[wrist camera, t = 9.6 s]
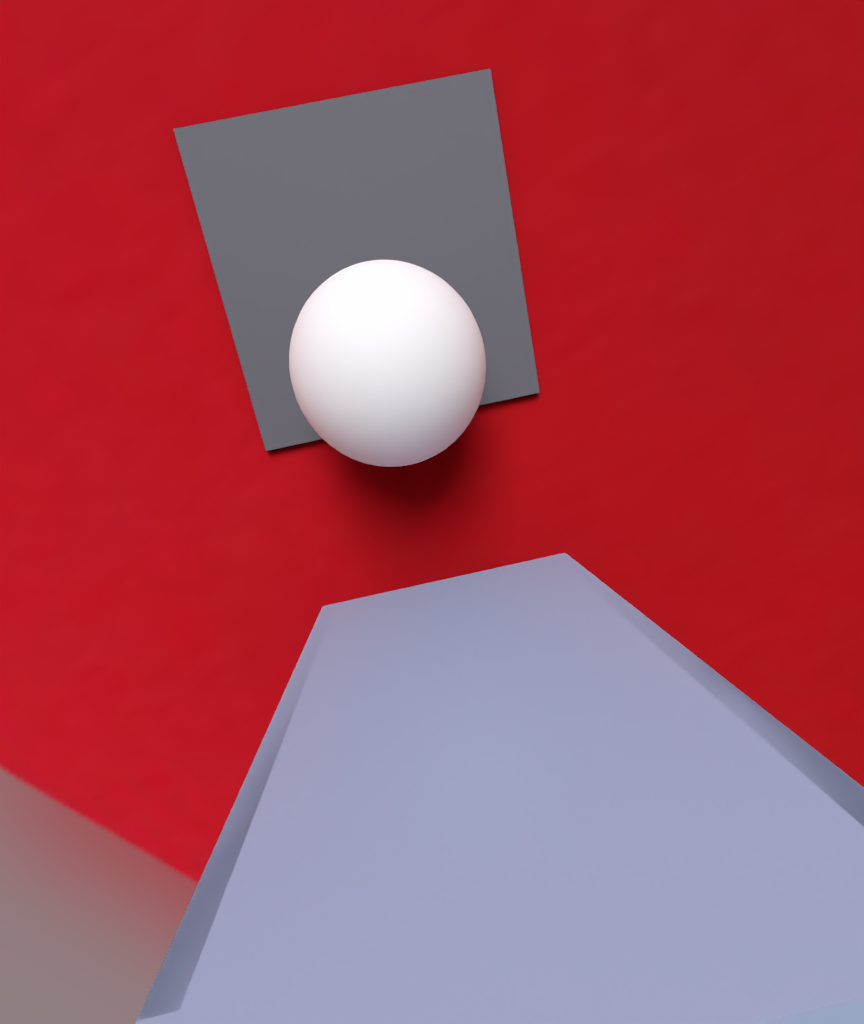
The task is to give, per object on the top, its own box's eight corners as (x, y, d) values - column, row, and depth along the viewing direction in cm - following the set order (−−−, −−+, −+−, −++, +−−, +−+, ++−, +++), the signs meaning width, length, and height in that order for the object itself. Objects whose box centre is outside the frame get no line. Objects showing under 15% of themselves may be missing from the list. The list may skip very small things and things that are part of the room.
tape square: (176, 134, 12) (173, 129, 12) (489, 74, 12) (490, 68, 12) (267, 450, 14) (265, 451, 13) (537, 393, 14) (539, 392, 14)
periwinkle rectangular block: (322, 605, 11) (57, 1196, 3) (565, 552, 11) (1064, 944, 3) (401, 884, 13) (397, 1729, 5) (606, 835, 13) (967, 1568, 5)
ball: (283, 466, 8) (338, 497, 13) (530, 406, 8) (491, 460, 13) (232, 233, 9) (303, 349, 14) (467, 180, 9) (453, 314, 14)
